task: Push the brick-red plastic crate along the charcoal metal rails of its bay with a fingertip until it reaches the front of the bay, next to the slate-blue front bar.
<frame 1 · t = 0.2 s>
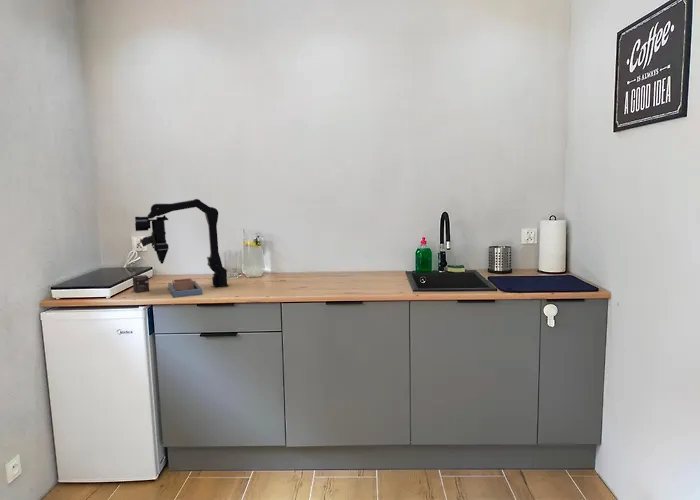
hand: (160, 262, 248), 14 cm above the worktop, tool pointing down, fingers open, 9 cm apart
crate: (183, 284, 254), point 2 cm above the worktop, slide at 0.0 cm
box: (141, 291, 251), on the worktop
crate bay: (184, 291, 249), on the worktop
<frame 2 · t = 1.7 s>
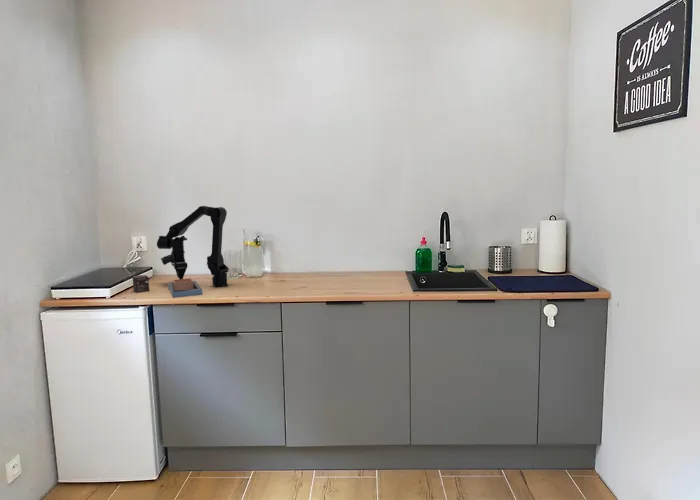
hand: (179, 279, 266), 3 cm above the worktop, tool pointing down, fingers open, 9 cm apart
nothing on the worktop moved.
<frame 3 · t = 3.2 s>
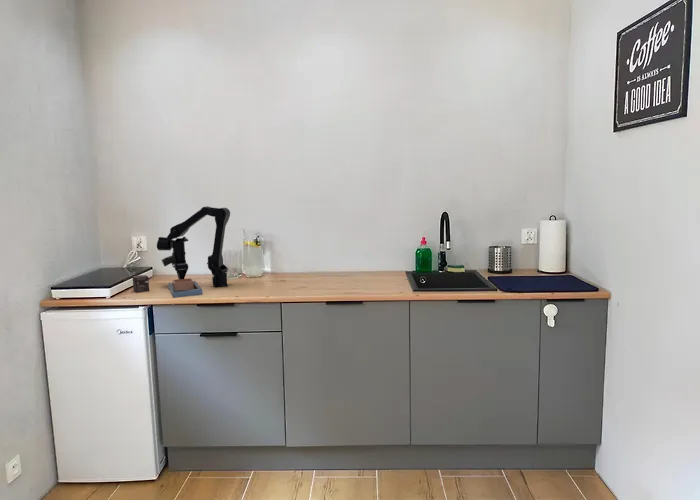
hand: (180, 280, 262), 2 cm above the worktop, tool pointing down, fingers open, 9 cm apart
crate: (183, 284, 254), point 2 cm above the worktop, slide at 0.1 cm, touching gripper
everything else where it was.
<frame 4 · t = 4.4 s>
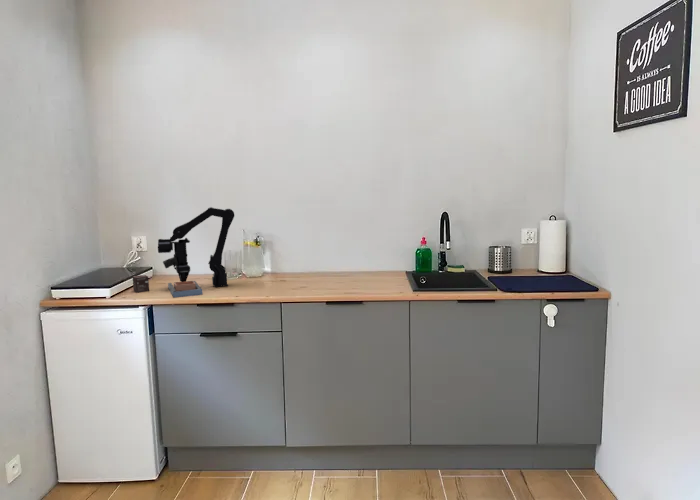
hand: (182, 283, 256), 2 cm above the worktop, tool pointing down, fingers open, 9 cm apart
crate: (184, 287, 248), point 2 cm above the worktop, slide at 7.0 cm, touching gripper
everything else where it was.
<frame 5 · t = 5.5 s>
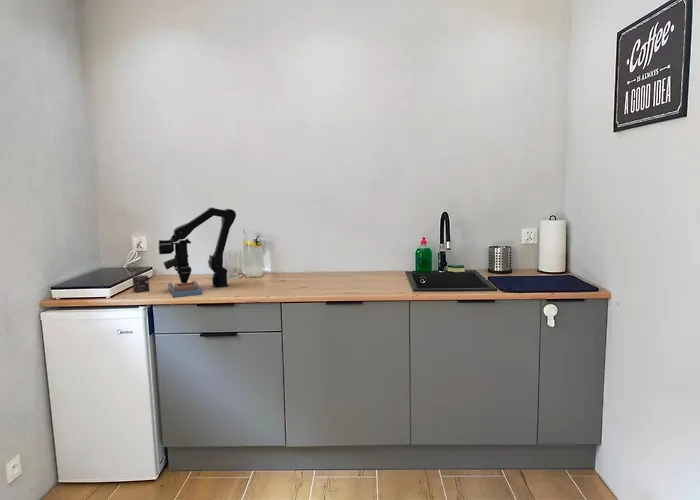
hand: (183, 284, 253), 2 cm above the worktop, tool pointing down, fingers open, 9 cm apart
crate: (185, 288, 244), point 2 cm above the worktop, slide at 10.9 cm, touching gripper
everything else where it was.
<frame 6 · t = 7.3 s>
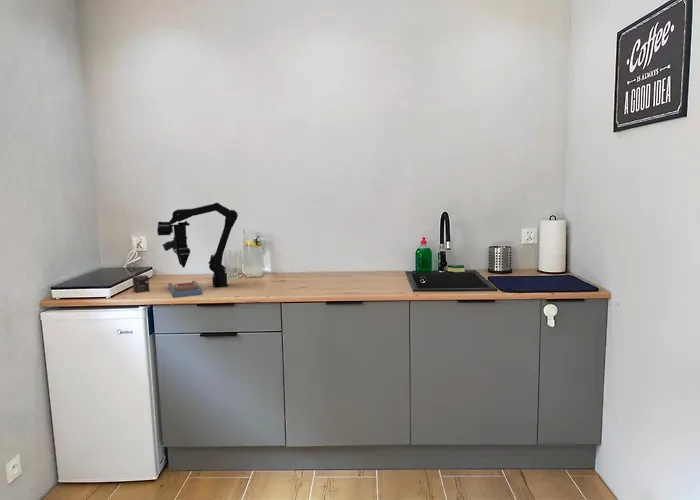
hand: (182, 266, 256), 11 cm above the worktop, tool pointing down, fingers open, 9 cm apart
crate: (185, 288, 244), point 2 cm above the worktop, slide at 11.0 cm
everything else where it was.
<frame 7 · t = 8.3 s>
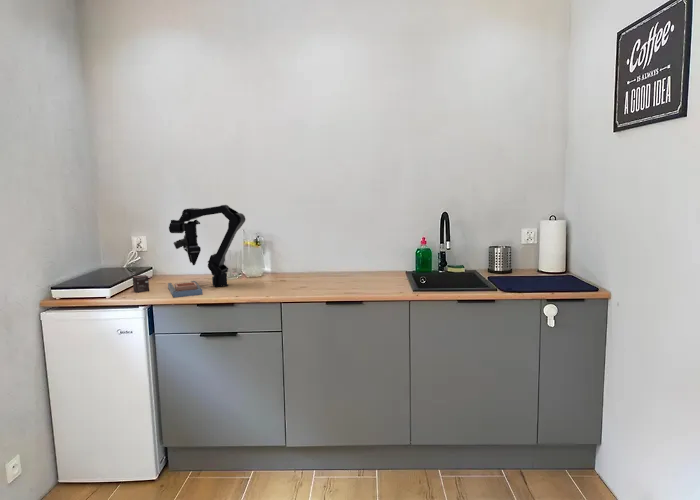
hand: (192, 263, 261), 11 cm above the worktop, tool pointing down, fingers open, 9 cm apart
nothing on the worktop moved.
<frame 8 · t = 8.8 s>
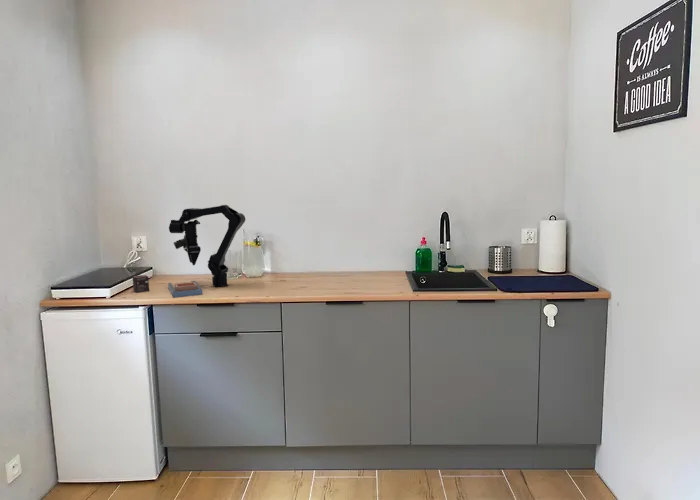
hand: (192, 263, 261), 11 cm above the worktop, tool pointing down, fingers open, 9 cm apart
nothing on the worktop moved.
at the end: crate slide at 11.0 cm; the gripper is holding nothing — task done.
